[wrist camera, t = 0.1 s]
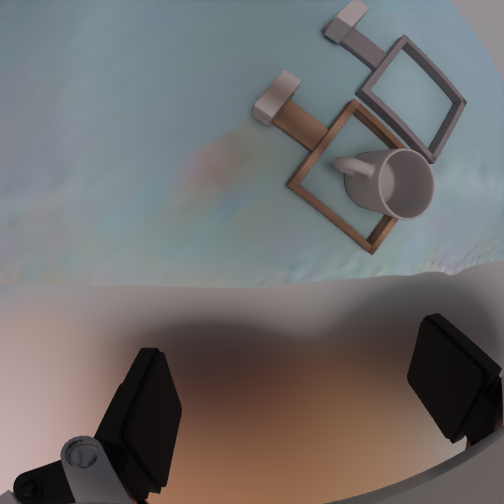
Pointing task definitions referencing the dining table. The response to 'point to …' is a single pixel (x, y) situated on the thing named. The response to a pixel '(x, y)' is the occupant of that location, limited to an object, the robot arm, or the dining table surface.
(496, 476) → the robot arm
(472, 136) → the dining table surface
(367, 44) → the grey frame with handle
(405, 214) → the mug
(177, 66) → the dining table surface
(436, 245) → the dining table surface
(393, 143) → the brown frame with handle
